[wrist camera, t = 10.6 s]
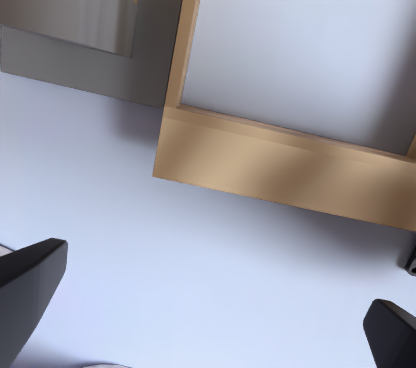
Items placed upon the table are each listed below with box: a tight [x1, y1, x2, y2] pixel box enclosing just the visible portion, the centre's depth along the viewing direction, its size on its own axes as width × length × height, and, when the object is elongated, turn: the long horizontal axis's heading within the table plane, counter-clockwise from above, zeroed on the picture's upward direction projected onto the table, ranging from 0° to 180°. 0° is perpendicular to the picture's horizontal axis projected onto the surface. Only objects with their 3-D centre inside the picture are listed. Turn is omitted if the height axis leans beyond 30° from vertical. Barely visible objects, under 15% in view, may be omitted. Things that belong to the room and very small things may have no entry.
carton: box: [152, 0, 416, 232], centre depth 16 cm, size 17×21×4 cm
